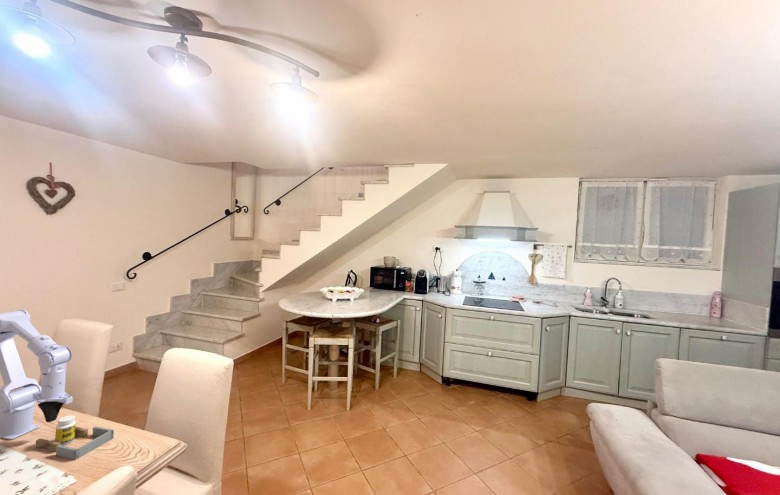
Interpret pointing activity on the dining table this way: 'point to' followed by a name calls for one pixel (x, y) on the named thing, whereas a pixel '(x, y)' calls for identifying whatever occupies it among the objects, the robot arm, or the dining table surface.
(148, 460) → the dining table surface
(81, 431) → the parallel wooden rails
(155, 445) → the dining table surface
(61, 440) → the supplement bottle
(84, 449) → the cradle
